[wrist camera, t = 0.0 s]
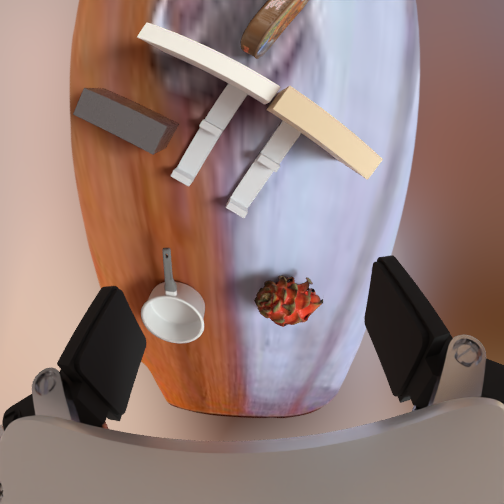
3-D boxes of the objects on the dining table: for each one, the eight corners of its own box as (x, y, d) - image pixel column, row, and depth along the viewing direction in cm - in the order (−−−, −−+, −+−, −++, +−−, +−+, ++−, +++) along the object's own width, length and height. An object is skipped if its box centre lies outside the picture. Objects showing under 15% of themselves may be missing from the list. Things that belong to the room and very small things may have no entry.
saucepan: (210, 236, 43) (205, 254, 38) (207, 326, 53) (204, 346, 48) (142, 230, 42) (130, 246, 37) (152, 319, 52) (145, 338, 47)
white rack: (172, 38, 27) (146, 16, 18) (349, 145, 36) (382, 159, 26) (115, 140, 35) (76, 153, 25) (282, 234, 43) (291, 273, 33)
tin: (257, 64, 30) (259, 51, 23) (237, 53, 29) (234, 38, 22) (314, -4, 24) (329, -27, 17) (295, -15, 23) (306, -39, 16)
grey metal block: (104, 88, 30) (84, 87, 25) (179, 123, 34) (167, 126, 29) (94, 111, 32) (73, 114, 27) (166, 147, 36) (152, 154, 31)
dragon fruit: (249, 275, 49) (311, 277, 51) (247, 322, 48) (309, 321, 50) (261, 274, 40) (332, 276, 43) (259, 331, 39) (330, 328, 42)
